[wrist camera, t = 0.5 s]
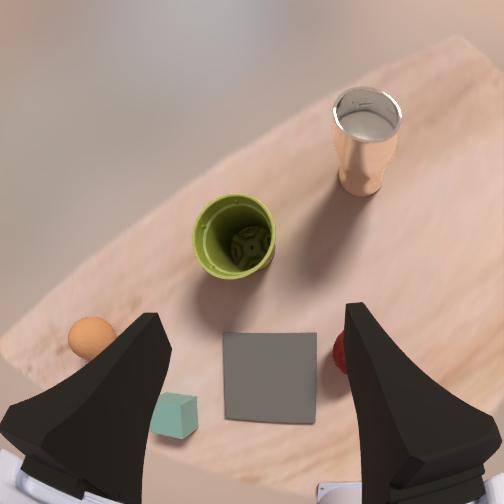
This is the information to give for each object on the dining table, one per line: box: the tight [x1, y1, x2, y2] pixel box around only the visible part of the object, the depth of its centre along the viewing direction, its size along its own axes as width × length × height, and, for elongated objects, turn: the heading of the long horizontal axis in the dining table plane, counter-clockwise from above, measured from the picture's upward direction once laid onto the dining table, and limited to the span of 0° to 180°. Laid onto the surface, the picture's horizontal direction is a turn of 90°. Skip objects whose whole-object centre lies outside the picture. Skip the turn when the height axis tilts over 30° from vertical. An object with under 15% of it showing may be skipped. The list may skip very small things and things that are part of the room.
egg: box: [68, 317, 116, 361], centre depth 41 cm, size 7×7×9 cm
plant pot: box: [192, 193, 276, 280], centre depth 37 cm, size 9×9×9 cm
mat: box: [223, 333, 317, 423], centre depth 38 cm, size 12×12×1 cm
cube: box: [150, 392, 198, 439], centre depth 38 cm, size 5×5×5 cm
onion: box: [333, 331, 348, 375], centre depth 32 cm, size 6×6×8 cm
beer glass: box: [332, 87, 402, 197], centre depth 32 cm, size 7×7×15 cm
